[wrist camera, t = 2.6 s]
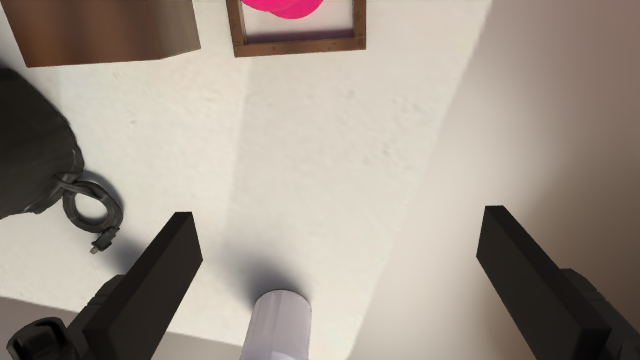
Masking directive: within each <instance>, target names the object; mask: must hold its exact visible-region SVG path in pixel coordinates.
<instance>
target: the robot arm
mask: <svg viewBox="0 0 640 360" xmlns="http://www.w3.org/2000/svg"><path fill="white" fill-rule="evenodd" d="M476 257H477V259H478V261H479V262H480V264H481V266H482V267H483V269H484V271H485V273H486V274H487V276H488V278H489V279H490V281H491V283H492V285H493V286H494V288H495V290H496V291H497V293H498V295H499V296H500V298H501V300H502V302H503V303H504V305H505V307H506V308H507V310H508V312H509V313H510V315H511V317H512V318H513V320H514V322H515V324H516V325H517V327H518V329H519V330H520V332H521V334H522V335H523V337H524V339H525V341H526V342H527V344H528V345H529V347H530V349H531V351H532V352H533V354H534V356H535V357H536V359H537V360H640V334H639V333H638V332H637V331H636V330H635V329H634V328H633V327H632V326H631V325H630V324H629V323H628V322H627V321H626V319H624V317H623V316H622V315H621V314H620V313H619V312H618V311H617V310H616V309H615V308H614V307H613V306H612V305H611V304H610V303H609V302H608V301H606V299H605V298H604V296H603V295H602V294H601V293H599V292H597V289H596V288H595V287H594V286H593V285H592V284H591V283H590V282H589V281H588V280H587V279H586V278H585V277H583V276H582V275H580V274H578V273H577V272H575V271H574V270H572V269H559V268H558V266H557V265H556V264H555V263H554V262H553V261H552V260H551V259H550V258H549V256H548V255H547V254H546V253H545V252H544V251H543V250H542V248H541V247H540V246H539V245H538V244H537V243H536V242H535V241H534V239H533V238H532V237H531V236H530V235H529V234H528V233H527V232H526V230H525V229H524V228H523V227H522V226H521V225H520V224H519V223H518V221H516V219H515V218H514V217H513V216H512V215H511V214H510V212H509V211H508V210H507V209H506V208H505V207H504V206H503V205H501V206H485V211H484V216H483V222H482V227H481V233H480V238H479V244H478V249H477V254H476ZM202 261H203V258H202V254H201V249H200V245H199V241H198V236H197V232H196V228H195V223H194V219H193V215H192V212H175V213H174V214H173V216H172V217H171V218H170V219H169V221H168V222H167V223H166V224H165V226H164V227H163V228H162V230H161V231H160V232H159V233H158V235H157V236H156V237H155V238H154V240H153V241H152V242H151V243H150V245H149V246H148V247H147V248H146V250H145V251H144V252H143V253H142V255H141V256H140V257H139V258H138V260H137V261H136V262H135V263H134V265H133V266H132V267H131V268H130V270H129V271H128V272H127V273H126V274H124V275H116V276H114V277H113V278H112V279H110V280H109V281H107V282H106V283H105V284H104V285H103V286H102V287H101V288H100V289H99V290H98V292H97V293H96V294H95V297H93V298H92V299H91V300H90V301H89V302H88V303H87V306H85V307H84V308H83V309H82V311H81V312H80V313H79V314H78V315H77V317H76V318H75V319H74V320H73V321H72V323H70V325H69V326H68V327H67V328H66V327H65V325H64V323H63V321H62V320H61V319H60V318H57V317H47V318H42V319H40V320H36V321H34V322H32V323H30V324H28V325H26V326H24V327H23V328H22V329H20V330H19V331H18V332H16V333H15V334H14V335H13V336H12V338H11V339H10V340H9V341H8V344H7V347H6V349H7V350H8V352H9V354H10V355H11V357H12V359H13V360H151V358H152V356H153V354H154V352H155V350H156V348H157V346H158V345H159V343H160V341H161V339H162V337H163V335H164V333H165V331H166V329H167V328H168V326H169V324H170V322H171V320H172V318H173V316H174V314H175V312H176V311H177V309H178V307H179V305H180V303H181V301H182V299H183V297H184V295H185V293H186V292H187V290H188V288H189V286H190V284H191V282H192V280H193V278H194V276H195V275H196V273H197V271H198V269H199V267H200V265H201V263H202Z"/></svg>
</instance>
